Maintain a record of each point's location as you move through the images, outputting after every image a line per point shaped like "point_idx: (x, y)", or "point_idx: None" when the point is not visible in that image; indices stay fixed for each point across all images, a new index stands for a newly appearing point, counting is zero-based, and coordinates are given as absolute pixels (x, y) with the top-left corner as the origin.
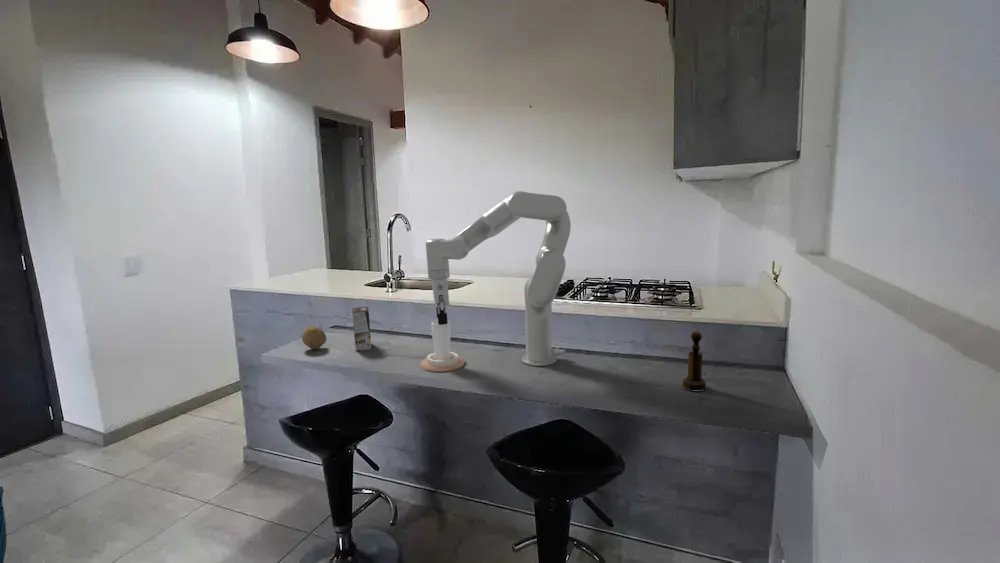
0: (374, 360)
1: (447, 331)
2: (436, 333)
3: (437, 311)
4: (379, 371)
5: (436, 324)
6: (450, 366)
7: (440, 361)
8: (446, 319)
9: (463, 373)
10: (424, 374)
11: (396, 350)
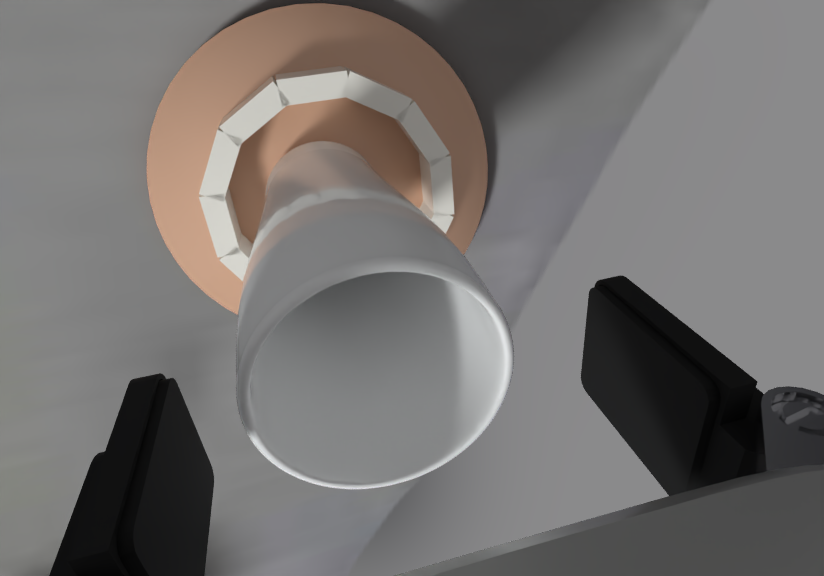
0: (239, 557)
1: (445, 234)
2: (456, 343)
3: (203, 570)
4: (411, 485)
5: (497, 407)
6: (447, 123)
7: (453, 206)
8: (661, 318)
9: (540, 15)
10: (498, 273)
11: (28, 525)
